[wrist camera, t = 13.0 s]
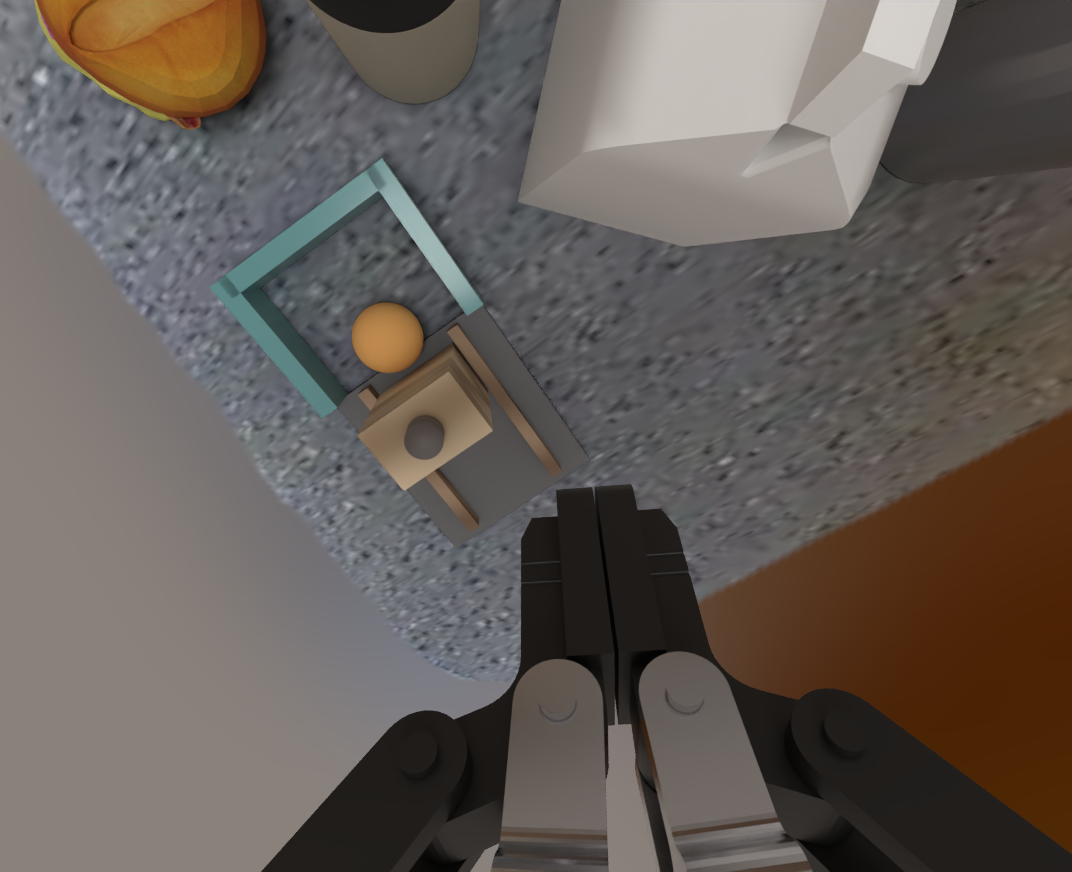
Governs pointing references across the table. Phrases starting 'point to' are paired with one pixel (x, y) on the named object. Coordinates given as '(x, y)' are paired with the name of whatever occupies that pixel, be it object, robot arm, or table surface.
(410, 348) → the ball
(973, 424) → the table surface
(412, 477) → the tan rectangular block
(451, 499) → the channel
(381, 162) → the teal u-shaped frame
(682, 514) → the table surface
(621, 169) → the milk
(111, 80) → the cheeseburger
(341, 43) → the travel mug
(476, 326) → the mat
